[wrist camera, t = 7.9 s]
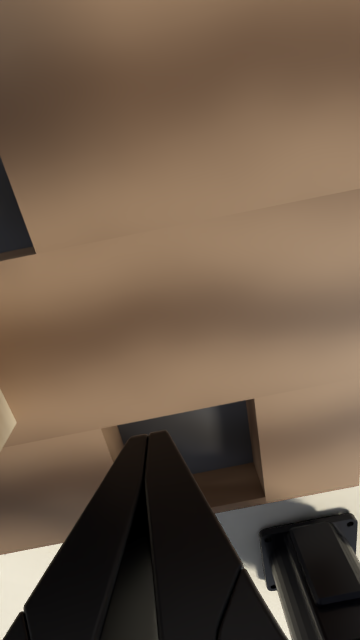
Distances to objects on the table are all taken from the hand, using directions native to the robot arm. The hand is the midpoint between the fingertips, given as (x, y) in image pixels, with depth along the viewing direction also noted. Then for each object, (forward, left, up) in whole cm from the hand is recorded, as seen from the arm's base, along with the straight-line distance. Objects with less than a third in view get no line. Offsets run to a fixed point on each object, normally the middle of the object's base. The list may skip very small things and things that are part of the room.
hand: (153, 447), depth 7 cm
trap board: (0, +2, -9) cm, 9 cm away
